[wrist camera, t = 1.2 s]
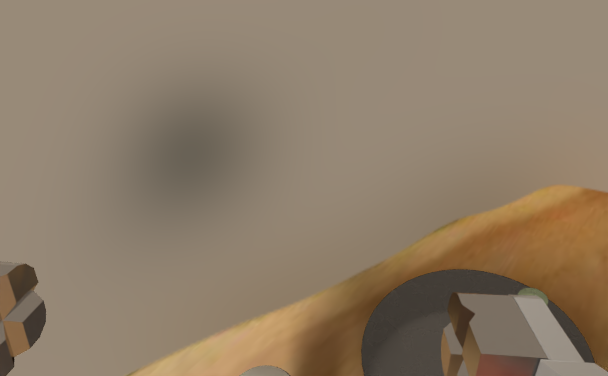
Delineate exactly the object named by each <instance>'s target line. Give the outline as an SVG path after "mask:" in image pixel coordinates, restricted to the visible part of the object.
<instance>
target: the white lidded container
mask: <svg viewBox="0 0 608 376" xmlns="http://www.w3.org/2000/svg"><path fill="white" fill-rule="evenodd" d="M240 376H290V375H289V374H288V373H287V372H286V371H284V370H282V369H281V368H278V367H274V366H267V365H266V366H258V367H254V368H252V369H249V370H247V371H246V372H244V373H242V374H241V375H240Z"/></svg>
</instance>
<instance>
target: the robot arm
mask: <svg viewBox="0 0 608 376" xmlns="http://www.w3.org/2000/svg"><path fill="white" fill-rule="evenodd" d="M37 283H38V280H37V277H36V274H35V271H34V268H32V267H30V266H29V265H27V264H23V263H11V262H0V376H6V375H7V374H8V373H9V372H10V371H11V370H12V369H13V367H14V357H15V356H17V355H19V354H21V353H23V352H24V351H26V350H28V349H30V348H31V347H32V346H33V344H34V343H35V342H36V341H37V340H38V338H39V337H40V335H41V332H42V330H43V327H44V325H45V322H46V309H45V305H44V301H43V300H42V299H41V298H40V297H39V296H38V295H37V294H36V293H35V292H34V289H35V287H36V285H37ZM447 311H448V314H449V317H450V320H451V323H450V324H448V325H447V326H446V327H445V328H444V329H443V335H442V341H441V360H442V367H443V372H444V376H608V372H607V371H606V370H604V369H603V368H601V367H600V366H598V365H596V364H595V363H585V362H584V360H583V359H582V357H581V356H580V354H579V353H578V351H577V350H576V348H575V347H574V345H573V344H572V342H571V341H570V339H569V338H568V336H567V335H566V334H565V332H564V331H563V329H562V328H561V326H560V325H559V323H558V322H557V320H556V319H555V317H554V316H553V314H552V313H551V311H550V310H549V308H548V307H547V305H546V304H545V302H544V301H543V299H541V298H540V297H538V296H535V295H493V294H475V293H458V292H452V295H451V297H450V299H449V304H448V308H447Z"/></svg>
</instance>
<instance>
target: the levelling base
mask: <svg viewBox="0 0 608 376" xmlns="http://www.w3.org/2000/svg"><path fill="white" fill-rule="evenodd" d="M452 292H458V293H475V294H493V295H535V296H538V297H540V298H541V299H543V301H544V302H545V304H546V305H547V307H548V308H549V310H550V311H551V313H552V314H553V316H554V317H555V319H556V320H557V322H558V323H559V325H560V326H561V328H562V329H563V331H564V332H565V334H566V335H567V336H568V338H569V339H570V341H571V342H572V344H573V345H574V347H575V348H576V350H577V351H578V353H579V354H580V356H581V357H582V359H583V360H584V362H585V363H595V362H594V359H593V356H592V353H591V350H590V348H589V346H588V345H587V343H586V341H585V339H584V337H583V335H582V334H581V333H580V331H579V330H578V328H577V327H576V325H575V324H574V323H573V322H572V321H571V320H570V318H569V317H568V316H567V315H566V314H565V313H564V312H563V311H562V310H561V309H560V308H559V307H558V306H556V305H555V304H554V303H553V302H551V301H550V300H549V299H548V298H547V296H546V295H545V294H544V293H543V292H542V291H540V290H538V289H535V288H530V287H528V286H526V285H524V284H522V283H520V282H517V281H515V280H512V279H510V278H507V277H504V276H500V275H497V274H493V273H488V272H483V271H476V270H444V271H438V272H432V273H428V274H425V275H422V276H418V277H416V278H414V279H411V280H409V281H407V282H405V283H404V284H402V285H400V286H398V287H397V288H396V289H394V290H393V291H391V292H390V293H389V294H388V295H387V296H386V297H385V298H384V299H383V300H382V301H381V302H380V303H379V305H378V306H377V307H376V308H375V310H374V312H373V313H372V315H371V317H370V318H369V321H368V323H367V326H366V328H365V332H364V336H363V340H362V350H361V352H362V366H363V371H364V376H444V372H443V367H442V360H441V341H442V335H443V329H444V328H445V327H446V326H447V325H448V324H450V323H451V320H450V317H449V314H448V311H447V308H448V304H449V299H450V297H451V295H452Z"/></svg>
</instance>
